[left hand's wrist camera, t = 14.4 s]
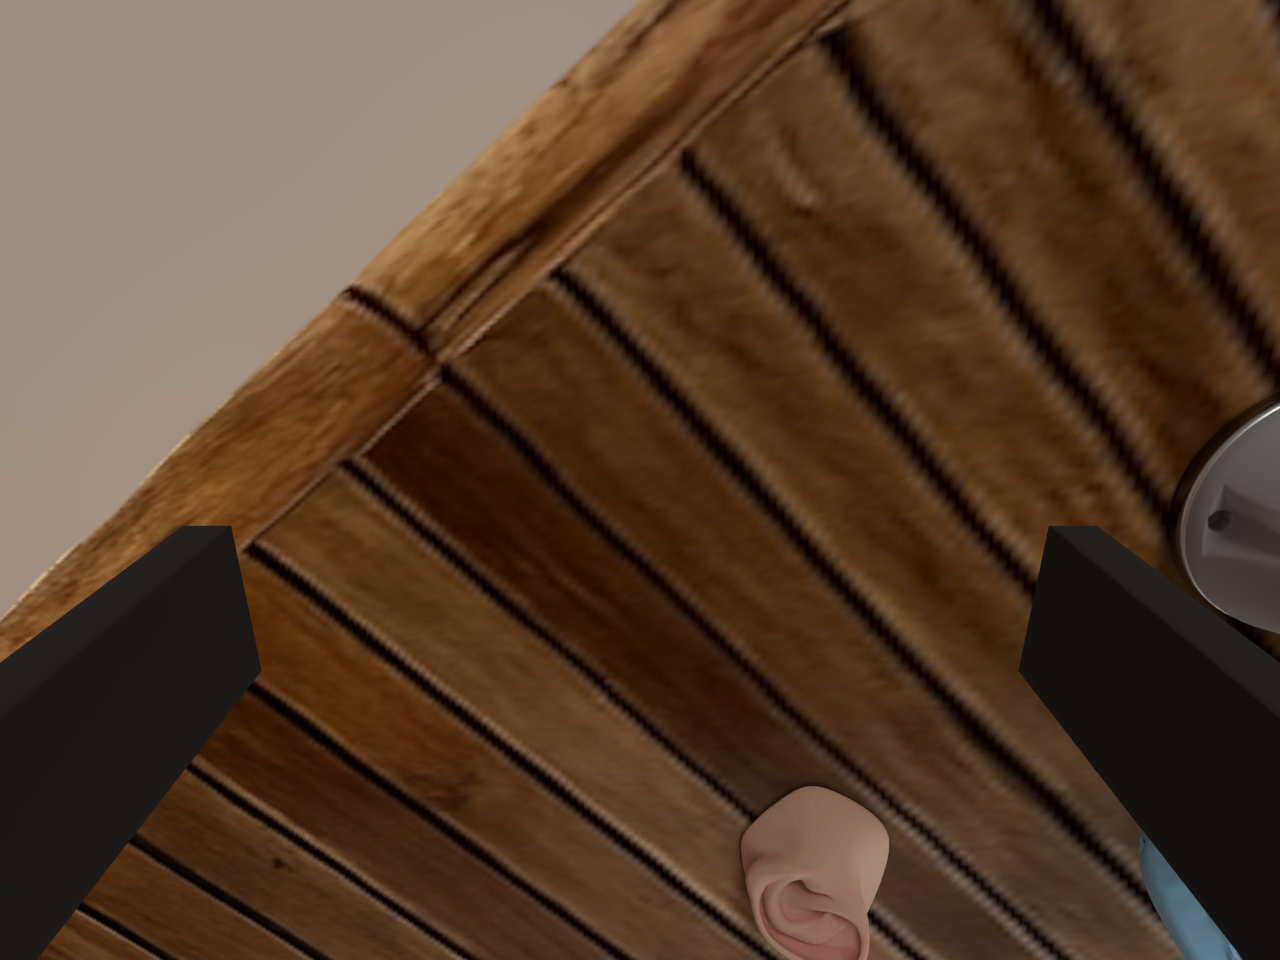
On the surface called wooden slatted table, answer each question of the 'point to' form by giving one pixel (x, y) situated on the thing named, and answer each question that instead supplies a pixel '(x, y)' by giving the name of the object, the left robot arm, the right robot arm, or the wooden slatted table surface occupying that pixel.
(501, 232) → the wooden slatted table surface
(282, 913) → the wooden slatted table surface
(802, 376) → the wooden slatted table surface
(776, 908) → the anatomical model
